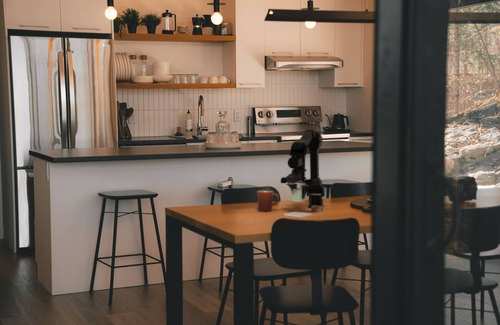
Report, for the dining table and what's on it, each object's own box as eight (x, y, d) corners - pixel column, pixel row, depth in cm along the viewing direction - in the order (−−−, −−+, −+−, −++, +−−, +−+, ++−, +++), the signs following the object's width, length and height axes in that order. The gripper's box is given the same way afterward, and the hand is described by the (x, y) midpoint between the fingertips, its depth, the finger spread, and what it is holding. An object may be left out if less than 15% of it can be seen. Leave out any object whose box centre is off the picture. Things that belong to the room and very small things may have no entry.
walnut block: (311, 212, 364) (311, 206, 364) (313, 210, 369) (313, 205, 369) (320, 212, 363) (320, 206, 363) (323, 211, 367) (323, 205, 367)
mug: (253, 211, 362) (253, 191, 361) (260, 209, 370) (260, 190, 369) (275, 213, 357) (275, 193, 356) (281, 211, 365) (282, 191, 364)
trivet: (284, 215, 350) (284, 213, 350) (295, 213, 358) (295, 211, 358) (301, 217, 345) (301, 215, 344) (312, 215, 353) (312, 213, 352)
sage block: (292, 201, 351) (292, 189, 350) (297, 200, 354) (297, 188, 354) (300, 201, 348) (300, 189, 347) (304, 200, 351) (305, 188, 351)
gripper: (274, 167, 349) (274, 198, 350) (306, 169, 338) (306, 201, 339) (287, 165, 358) (286, 196, 359) (318, 168, 347) (318, 199, 348)
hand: (298, 198), depth 351 cm, fingers closed on sage block, 4 cm apart
